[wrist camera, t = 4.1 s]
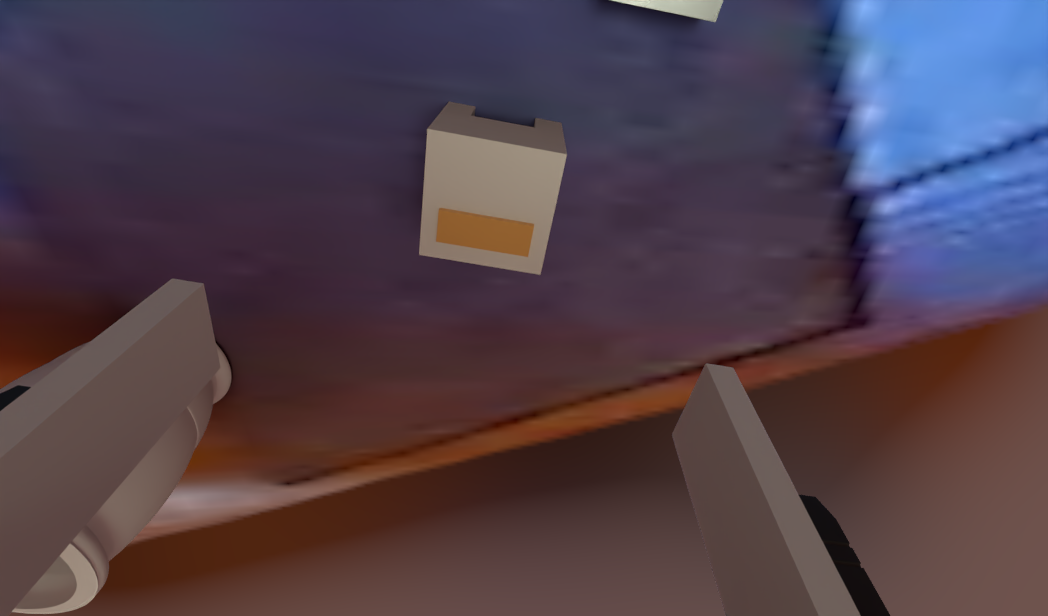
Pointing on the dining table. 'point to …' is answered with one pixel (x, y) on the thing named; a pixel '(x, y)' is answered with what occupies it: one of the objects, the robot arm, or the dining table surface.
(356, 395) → the dining table surface
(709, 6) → the rail
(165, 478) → the jar
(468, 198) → the block
